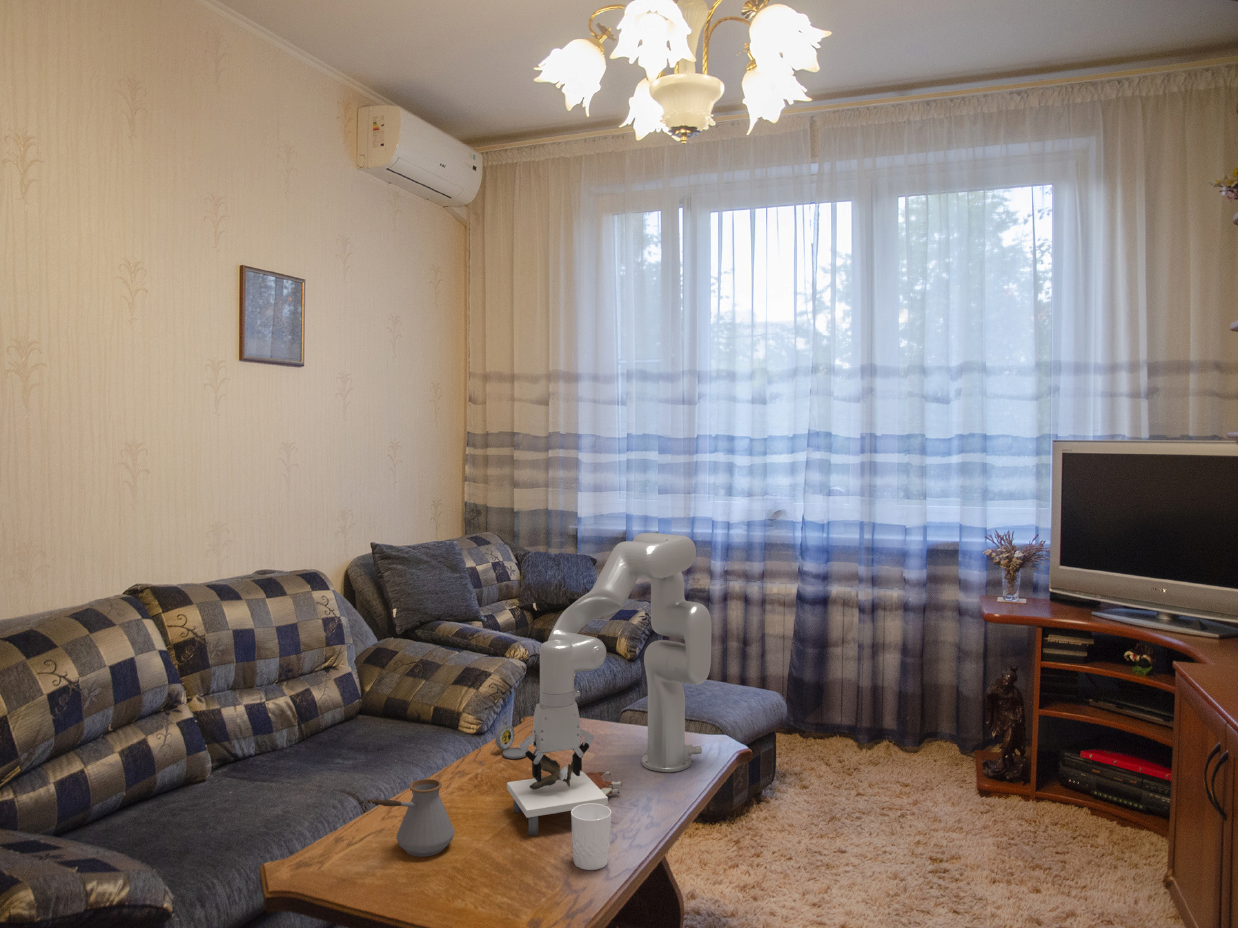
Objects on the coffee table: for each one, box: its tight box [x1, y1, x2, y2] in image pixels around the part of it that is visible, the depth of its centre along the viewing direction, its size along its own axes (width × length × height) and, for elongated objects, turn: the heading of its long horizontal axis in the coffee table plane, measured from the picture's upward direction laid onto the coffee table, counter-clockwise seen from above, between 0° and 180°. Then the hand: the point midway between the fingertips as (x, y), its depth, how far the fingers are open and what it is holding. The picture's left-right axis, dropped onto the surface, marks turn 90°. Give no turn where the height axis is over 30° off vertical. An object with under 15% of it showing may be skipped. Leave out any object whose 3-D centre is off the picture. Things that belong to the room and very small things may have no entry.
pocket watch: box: [495, 714, 527, 760], centre depth 226 cm, size 8×8×10 cm
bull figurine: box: [585, 770, 623, 797], centre depth 200 cm, size 4×13×8 cm
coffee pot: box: [362, 778, 455, 857], centre depth 169 cm, size 21×12×15 cm, turn 148°
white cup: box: [570, 803, 612, 871], centre depth 167 cm, size 8×8×10 cm
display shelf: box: [506, 770, 609, 837], centre depth 188 cm, size 18×16×6 cm
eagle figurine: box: [530, 754, 573, 790], centre depth 187 cm, size 8×7×9 cm
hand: (557, 776), depth 188 cm, fingers closed on eagle figurine, 8 cm apart
